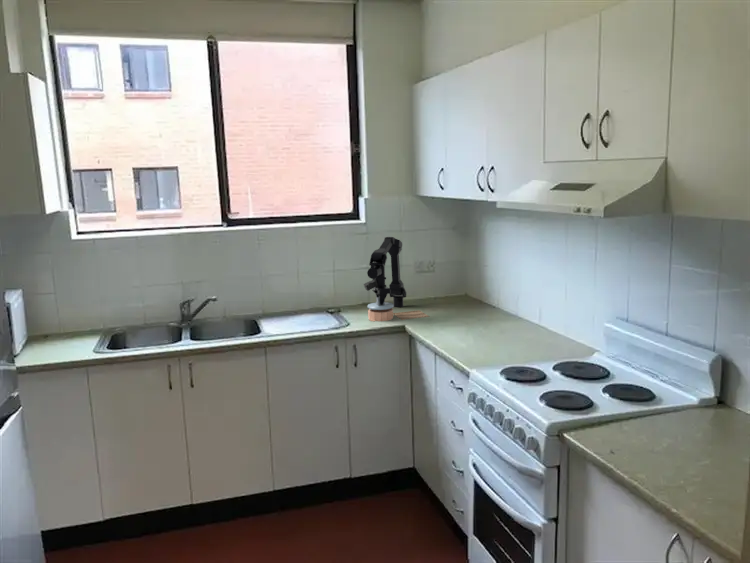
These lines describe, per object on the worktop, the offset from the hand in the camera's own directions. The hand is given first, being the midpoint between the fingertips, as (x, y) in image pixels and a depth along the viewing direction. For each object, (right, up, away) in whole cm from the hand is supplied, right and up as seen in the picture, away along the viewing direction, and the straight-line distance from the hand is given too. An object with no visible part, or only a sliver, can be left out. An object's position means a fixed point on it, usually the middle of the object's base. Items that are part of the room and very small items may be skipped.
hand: (380, 304), depth 335 cm
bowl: (0, -8, +1) cm, 8 cm away
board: (+16, -7, +6) cm, 19 cm away
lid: (0, -1, 0) cm, 2 cm away
